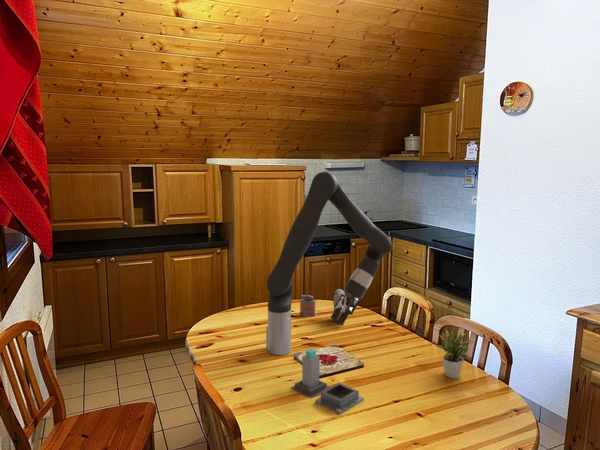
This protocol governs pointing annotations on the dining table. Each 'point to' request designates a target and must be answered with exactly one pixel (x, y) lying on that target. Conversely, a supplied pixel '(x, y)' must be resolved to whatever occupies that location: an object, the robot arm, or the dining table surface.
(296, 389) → the grey square tray
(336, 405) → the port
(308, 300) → the lighter
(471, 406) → the dining table surface
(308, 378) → the plug
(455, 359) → the house plant
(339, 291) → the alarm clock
